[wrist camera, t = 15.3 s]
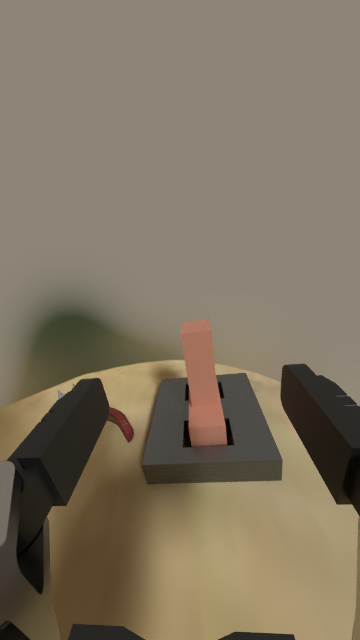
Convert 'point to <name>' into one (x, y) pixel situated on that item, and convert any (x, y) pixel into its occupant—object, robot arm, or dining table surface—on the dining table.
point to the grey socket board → (214, 461)
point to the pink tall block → (202, 386)
